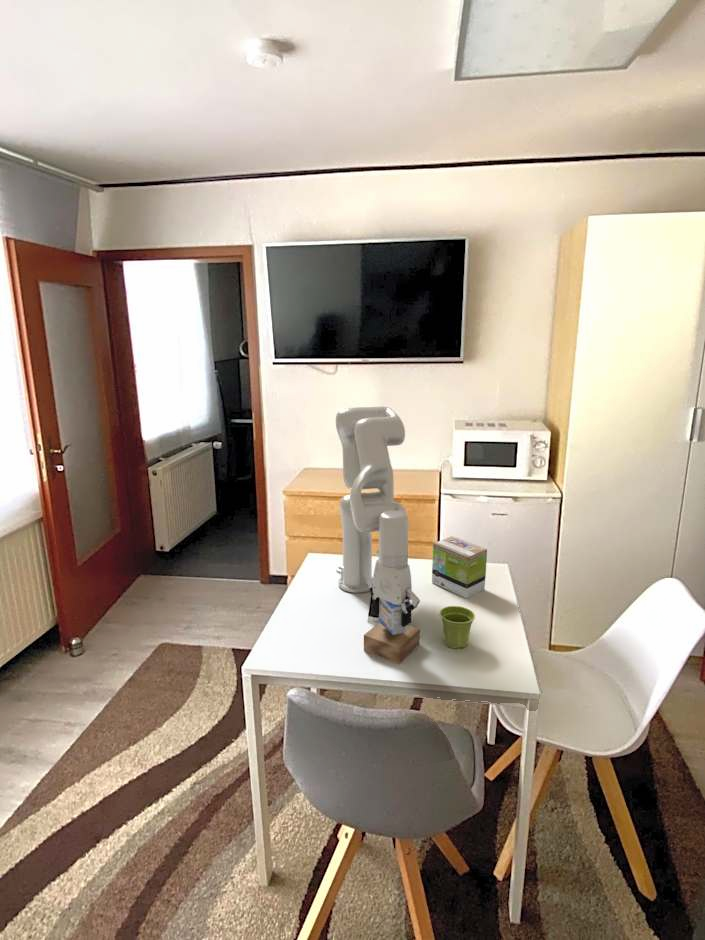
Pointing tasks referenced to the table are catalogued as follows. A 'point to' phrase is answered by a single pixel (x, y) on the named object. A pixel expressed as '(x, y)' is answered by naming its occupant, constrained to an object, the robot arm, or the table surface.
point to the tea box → (459, 566)
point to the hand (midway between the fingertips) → (392, 618)
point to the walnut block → (391, 643)
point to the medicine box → (391, 617)
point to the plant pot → (456, 625)
